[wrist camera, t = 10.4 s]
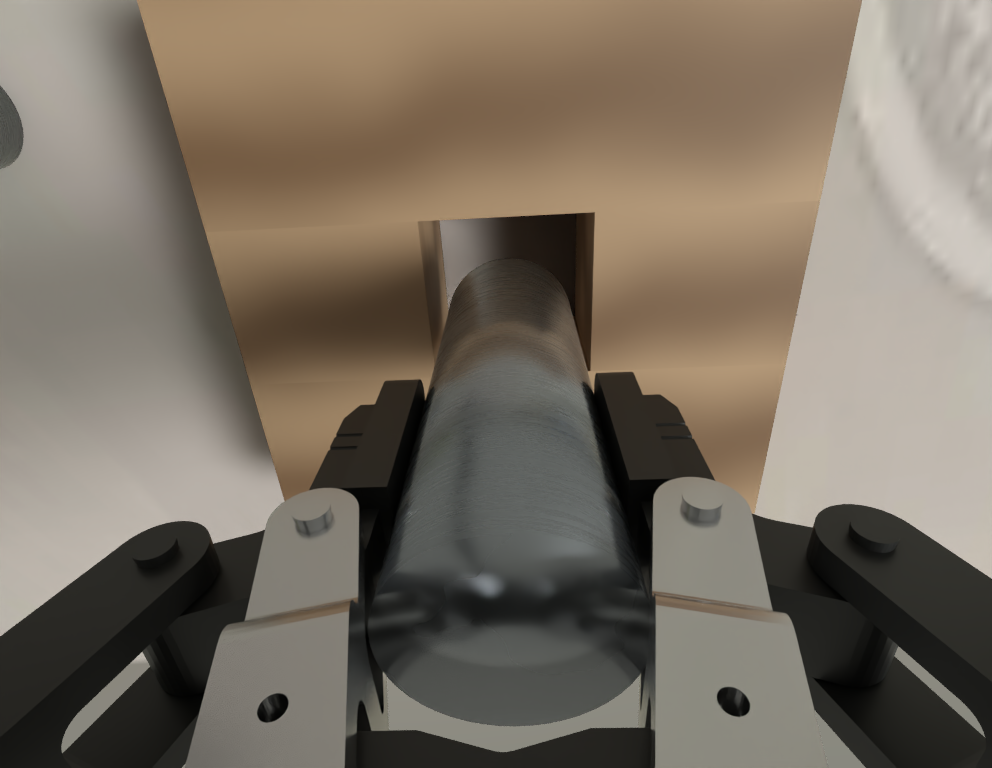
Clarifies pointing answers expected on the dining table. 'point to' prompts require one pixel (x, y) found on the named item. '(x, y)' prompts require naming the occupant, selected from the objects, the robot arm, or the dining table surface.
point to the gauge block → (508, 187)
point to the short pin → (9, 131)
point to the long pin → (510, 522)
